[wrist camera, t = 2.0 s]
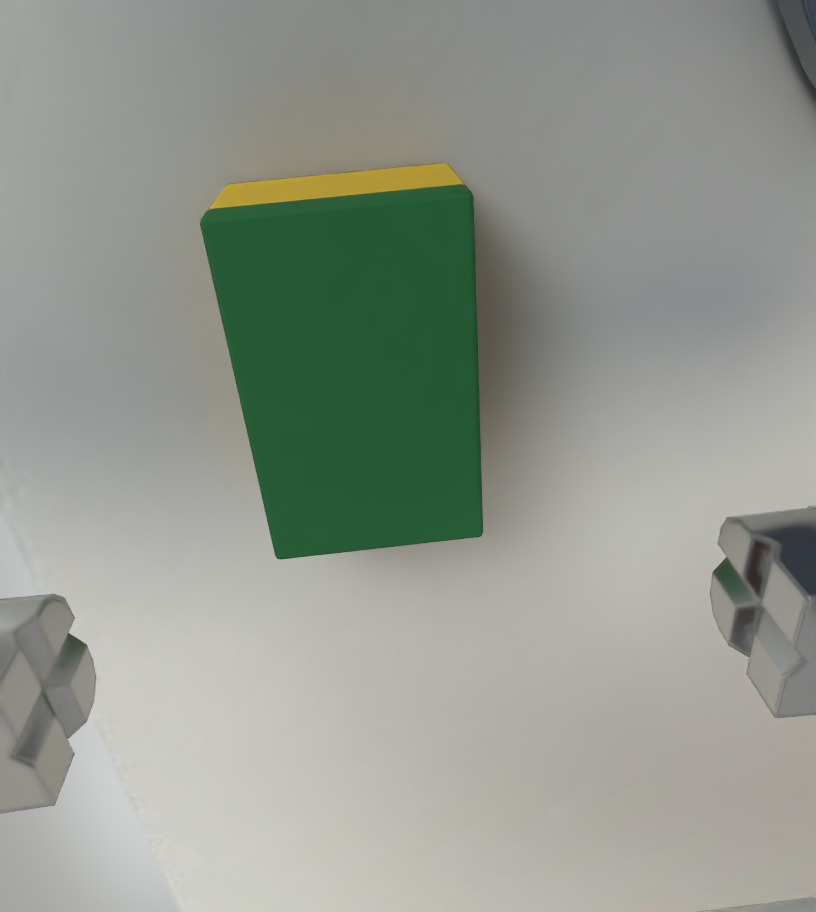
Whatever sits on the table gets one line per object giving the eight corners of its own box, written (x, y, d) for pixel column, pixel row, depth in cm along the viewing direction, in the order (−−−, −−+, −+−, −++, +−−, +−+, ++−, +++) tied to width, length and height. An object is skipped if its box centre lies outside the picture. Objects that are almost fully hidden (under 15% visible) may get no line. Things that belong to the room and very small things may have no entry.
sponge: (224, 183, 14) (197, 219, 11) (449, 161, 14) (474, 191, 11) (285, 483, 17) (275, 561, 15) (463, 463, 17) (483, 538, 15)
